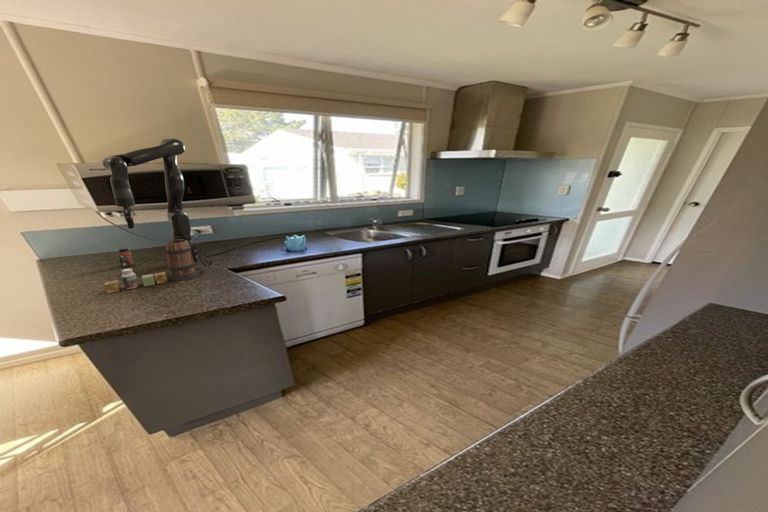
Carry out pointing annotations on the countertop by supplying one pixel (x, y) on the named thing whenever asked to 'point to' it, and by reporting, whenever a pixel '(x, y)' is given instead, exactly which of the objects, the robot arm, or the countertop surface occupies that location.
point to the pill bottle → (129, 279)
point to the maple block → (160, 277)
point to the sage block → (148, 280)
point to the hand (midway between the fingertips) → (131, 226)
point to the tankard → (182, 260)
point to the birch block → (112, 286)
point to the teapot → (295, 243)
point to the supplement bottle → (125, 257)
